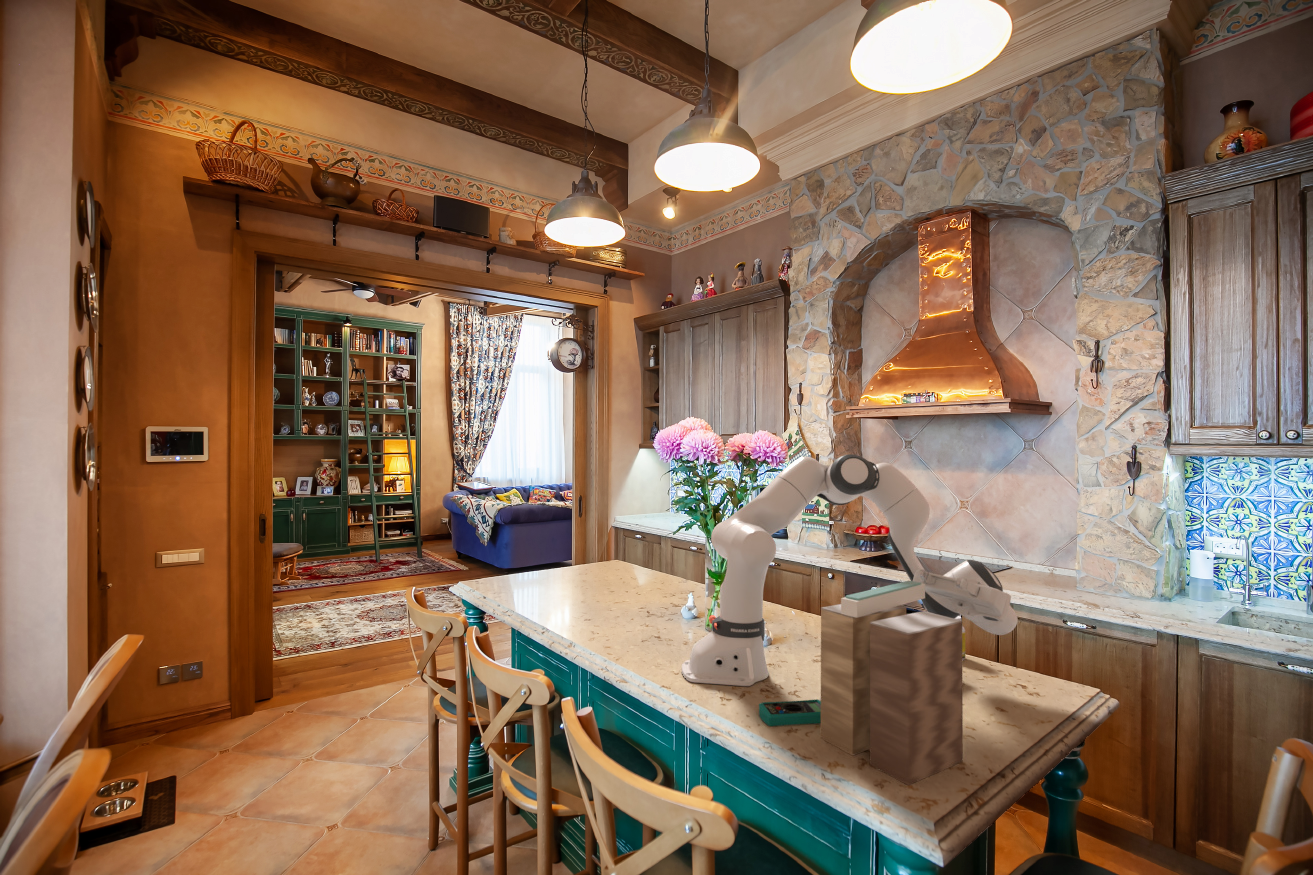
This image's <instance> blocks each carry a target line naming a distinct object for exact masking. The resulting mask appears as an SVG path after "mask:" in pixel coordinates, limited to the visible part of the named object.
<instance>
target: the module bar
mask: <svg viewBox="0 0 1313 875" xmlns="http://www.w3.org/2000/svg"><path fill="white" fill-rule="evenodd" d="M924 598H925V584H921V583H920V582H914V581H911V580H905V581H902V582H897V583H892V584H888V585H885V586H880V587H877V588H872V589H868V590H864V591H860V592H855V593H851V594H847V595H845V596H844V597H841V598H840V604H841V614H844V615H848V616H852V617H856V618H858V617H861V616H865V615H868V614H872V613H875V612H879V611H882V610H886V609H889V608H893V607H896V606H900V605H902V606H904V605H906V604H909V603H910V604H911V603H912V602H917V601H921V599H924Z"/></svg>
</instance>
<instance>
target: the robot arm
mask: <svg viewBox="0 0 1313 875" xmlns="http://www.w3.org/2000/svg"><path fill="white" fill-rule="evenodd" d="M816 497H818V498H820V499H822V500H824V501H826V502H827V503H829V504H831V505H834V506H844V505H847V504H851V502H853V501H854V500H856V499H858V498H859V497H864V498H866V499H868V500H870V501H871V502H872V503H874V505H875V506H876V507H877V509H878V510H879V511H880V512H881V513H882V515H883V516H884V518H885V519H886V521H887V524H888V526H889V531H888V534H887V539H888V542H889V545H890V546H891V548H892V551H893V552H894V554H895V555H896V558H897V559H898V561H899V563H900V564H901V566H902V568H903V570H904V572H905V573H906V575H907V577H908V578H909V581H914V582H920V583H921V584H925V598H924V599H920V601H921V602H922V605H923V607H924V609H925V610H926V612H930V613H934V614H938V615H942V616H946V617H950V618H954V619H955V618H956V617H957V616H962V617H963V618H965V619H966V620H969V621H970V622H972V623H973V624H974V625H975V626H977V627H979V628H980V629H981V630H984V631H985V632H988V633H990V634H992V635H998V636H1002V635H1003V636H1004V635H1008V634H1009V633H1011V632H1012V631H1014V629H1015V628H1016V626H1017V624H1018V615H1017V612H1016V611H1015V610H1014V609H1013V607H1012V606H1011V602H1012V601H1011V600H1012V595H1010V593H1008V592H1005V591H1004V590H1003V588H1004V587H1003V585H1002V582H1001V581H1000V580H999V578H998V577H997V575H996V574H995V573H994V572H993V571H992V570H991V569H990V568H989V567H987V566H986V565H985V564H984V563H982V562H981V561H978V560H974V559H966V560H965V561H963V562H961V563H960V564H958V565H956V566H954V567H953V568H952V569H951V570H949V571H948V572H946V573H944V574H938V573H937V574H936V573H933V572H929V571H927V570H925V568H924V567H923V565H922V564H921V562H920V560H919V559H918V558H919V557H917V555H916V552H915V543H916V541H917V539H918V538H919V536H920V534H921V533H922V531H923V529H924V528H925V526H926V525H927V523H928V520H929V518H930V511H931V510H930V509H931V508H930V504H929V502H928V500H927V499H926V497H925V496H924V495H923V493H922V492H921V490H919V488H918V487H917V486H916V485H915V484H914V483H913V482H912V481H911V480H910V479H909V478H908V477H907V476H906V475H905V474H904V473H903V472H902V471H901V470H900V469H898V468H897V467H896V466H894V465H893V464H892V463H889V462H879V463H876V464H875V463H874V462H872V461H869V460H867V458H864V457H863V456H860V455H859V454H858V455H857V454H852V453H850V454H844V455H841V456H839V457H838V458H836V459H835V460H834V461H833V462H832V463H831V464H829V465H824V464H822V463H821V462H819V461H818V460H817V459H815V458H813V457H811V456H801V457H799V458H797V459H796V460H794V461H793V462H791V463H790V464H788V465H787V466H786V467H785V468H783V469H782V471H781V472H779V473H778V474H777V475H776V476H775V477H774V478H773V479H772V481H770V483H768V484H767V485H766V487H764V489H763V490H762V491H761V492H760V493H759V494H758V495H757V496H756V497H754V498H753V499H751V501H750V502H748V503H746V504H745V505H744V506H742V507H741V508H740V509H738V510H737V511H736V512H734V513H733V514H732V515H731V516H729V517H728V518H727V519H725V520H723V521H721V522H719V523H717V524H716V526H715V527H714V528H713V530H712V532H711V536H710V538H711V539H710V540H711V545H712V547H713V548H714V550H715V551H716V552H717V554H718V555H719V556H720V557H722V558H723V559H725V560H726V562H727V565H726V571H725V576H724V579H723V581H722V583H721V585H720V588H719V615H718V616H716V615H713V614H712V615H709V617H708V621H709V623H710V624H711V631H710V632H709V633H707V634H706V635H705V636H703V637H702V638H701V639H699V640H697V642H695V643H694V645H693V646H692V649H691V652H690V657H689V659H686V660H685V661H683V663H682V664H681V669H680V670H682V671H681V675H682V674H683V675H682V676H684V677H683V678H684V679H685V678H686V679H685V680H686V681H688V682H689V683H690V682H691V683H698V684H699V683H701V684H712V685H713V684H714V685H727V686H737V687H738V686H739V687H750V686H753V685H754V684H755V683H757V682H761V681H763V680H765V679H767V678H768V677H769V675H770V674H769V669H768V667H767V666H768V665H767V660H766V656H765V646H764V641H765V637H766V636H765V634H766V631H765V630H766V626H765V625H766V624H765V619H764V618H763V617H764V616H763V614H764V613H763V612H764V610H763V609H764V608H763V606H764V602H763V601H764V588H765V587H764V586H765V581H766V576H767V573H768V569H769V566H770V565H771V563H772V562H773V561H774V559H775V556H776V555H777V554H776V553H777V545H776V542H775V539H774V538H773V537H772V536H773V534H775V533H777V532H779V531H780V530H783V529H785V528H787V527H788V526H790V524H791V523H792V522H793V521H794V520H795V519H796V518H797V517H798V516H799V515H800V514H801V512H802V511H804V509H805V508H806V507H807V506H808V505H810V503H811V501H813V500H814V499H815V498H816Z"/></svg>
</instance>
